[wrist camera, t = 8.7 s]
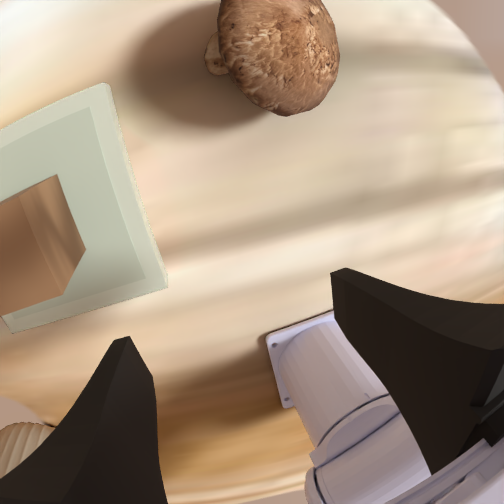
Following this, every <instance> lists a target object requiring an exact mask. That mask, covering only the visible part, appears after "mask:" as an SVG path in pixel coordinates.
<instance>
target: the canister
mask: <svg viewBox="0 0 504 504" xmlns="http://www.w3.org/2000/svg"><path fill="white" fill-rule="evenodd" d="M54 429H55V427H49V426H47V425H41V424H38V423H36V424H34V423H30V422H28V423H24V422H21V423H14V424H12V425H8V426H6V427H5V428H3V429H2V430H0V478H2V477H3V476H4V475H6V474H7V473H9V472H10V471H11V470H13V469H14V468H15V467H17V466H18V465H19V464H20V463H21V462H23V461H24V460H25V459H26V458H27V457H28V456H29V455H30V454H31V453H33V452H34V451H35V450H36V449H37V448H38V447H39V446H40V445H41V444H42V443H43V441H44V440H45V439H46V438H47V437H48V436H49V435H50V434H51V433H52V432H53V430H54Z"/></svg>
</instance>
